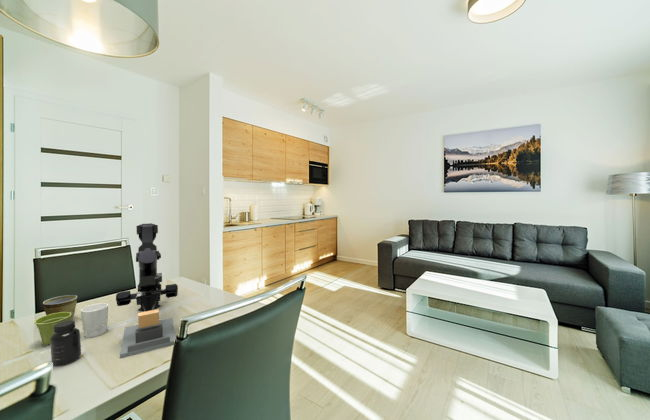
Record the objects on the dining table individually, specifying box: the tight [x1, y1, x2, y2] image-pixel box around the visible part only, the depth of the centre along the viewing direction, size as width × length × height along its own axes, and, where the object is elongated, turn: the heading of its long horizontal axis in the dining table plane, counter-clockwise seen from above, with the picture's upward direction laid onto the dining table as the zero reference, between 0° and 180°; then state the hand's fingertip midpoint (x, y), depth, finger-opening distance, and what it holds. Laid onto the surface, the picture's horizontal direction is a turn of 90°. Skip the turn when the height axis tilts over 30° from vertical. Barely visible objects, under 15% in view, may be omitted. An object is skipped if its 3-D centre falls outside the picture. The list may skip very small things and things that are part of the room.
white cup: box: [80, 302, 109, 338], centre depth 102 cm, size 8×8×10 cm
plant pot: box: [33, 312, 71, 346], centre depth 97 cm, size 9×9×9 cm
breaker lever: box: [137, 308, 161, 330], centre depth 95 cm, size 2×7×7 cm, turn 123°
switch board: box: [119, 317, 177, 359], centre depth 100 cm, size 21×16×5 cm
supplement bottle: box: [49, 319, 82, 367], centre depth 86 cm, size 7×7×12 cm
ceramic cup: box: [42, 294, 78, 320], centre depth 110 cm, size 13×10×10 cm
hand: (148, 316), depth 95 cm, fingers closed, pressing on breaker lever
